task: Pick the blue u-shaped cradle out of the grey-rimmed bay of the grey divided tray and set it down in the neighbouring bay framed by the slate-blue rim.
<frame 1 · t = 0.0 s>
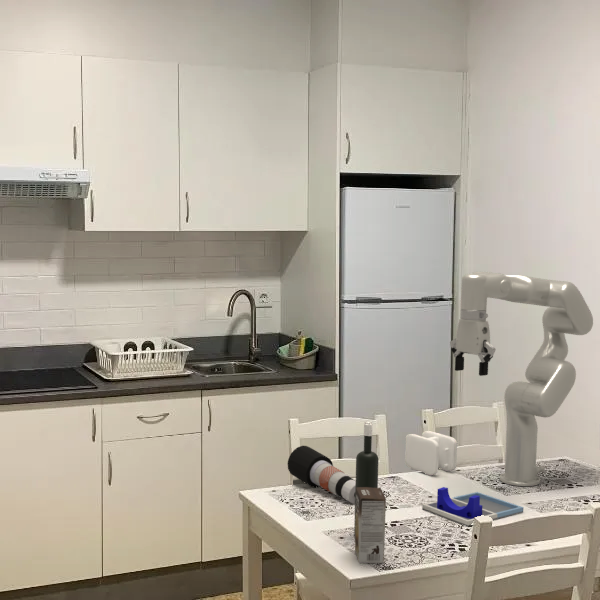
hand: (471, 372, 285), 37 cm above the table, tool pointing down, fingers open, 9 cm apart
grey divided tray: (472, 511, 271), on the table
cable organizer: (429, 470, 314), on the table
coffee box: (368, 557, 234), on the table
blue u-shaped cradle: (459, 513, 268), resting on grey divided tray
wine bottle: (365, 536, 249), on the table
telephoto camera lens: (332, 494, 286), on the table
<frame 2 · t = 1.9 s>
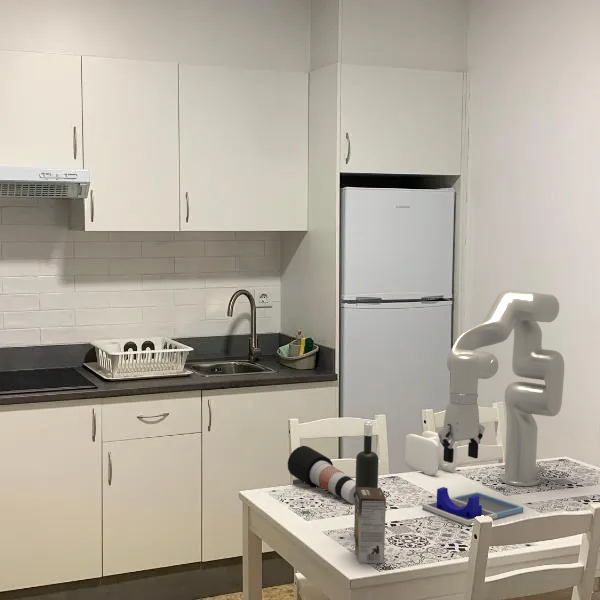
hand: (460, 459, 266), 16 cm above the table, tool pointing down, fingers open, 9 cm apart
nothing on the table moved.
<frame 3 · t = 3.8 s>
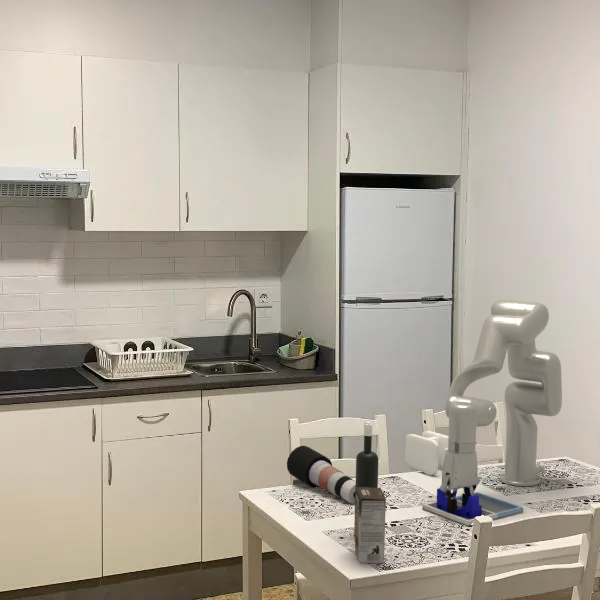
hand: (459, 509, 268), 1 cm above the table, tool pointing down, fingers closed on blue u-shaped cradle, 5 cm apart
blue u-shaped cradle: (458, 513, 268), resting on grey divided tray, touching gripper
everything else where it was.
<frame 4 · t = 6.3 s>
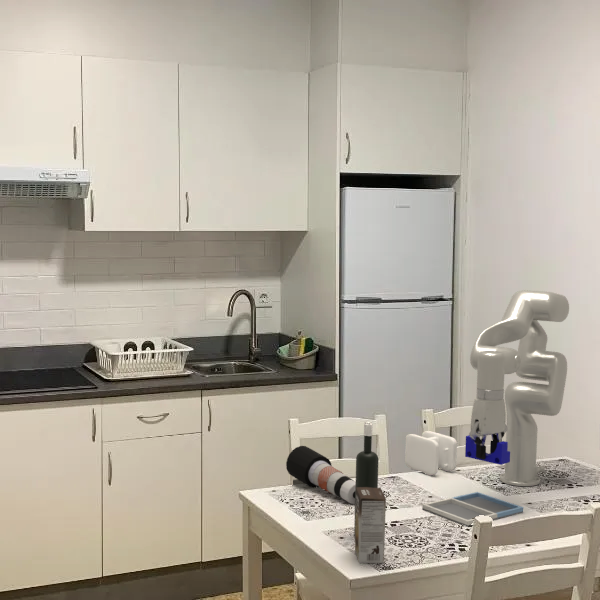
hand: (487, 456, 273), 15 cm above the table, tool pointing down, fingers closed on blue u-shaped cradle, 5 cm apart
blue u-shaped cradle: (487, 459, 274), point 14 cm above the table, touching gripper
everything else where it was.
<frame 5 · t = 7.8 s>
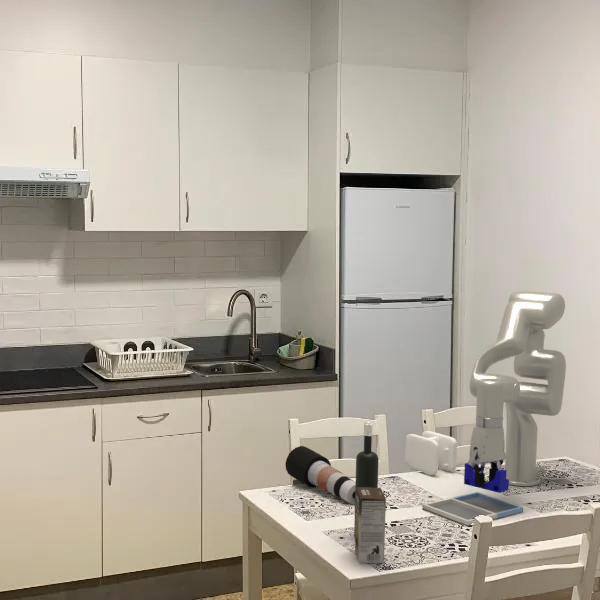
hand: (486, 484, 274), 7 cm above the table, tool pointing down, fingers closed on blue u-shaped cradle, 5 cm apart
blue u-shaped cradle: (485, 487, 274), point 6 cm above the table, touching gripper
everything else where it was.
when the fingers open (3 cm above the table, at t = 9.0 s): blue u-shaped cradle drops 1 cm, point 1 cm above the table.
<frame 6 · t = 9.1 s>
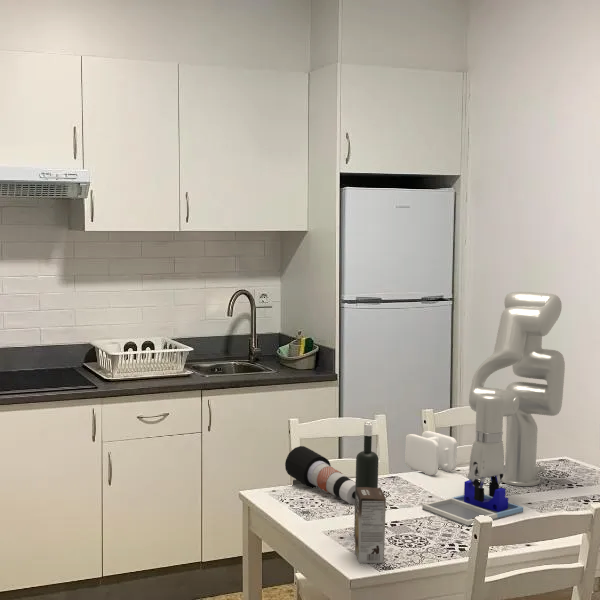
hand: (486, 498, 274), 3 cm above the table, tool pointing down, fingers open, 5 cm apart
blue u-shaped cradle: (485, 505, 275), point 1 cm above the table
everything else where it was.
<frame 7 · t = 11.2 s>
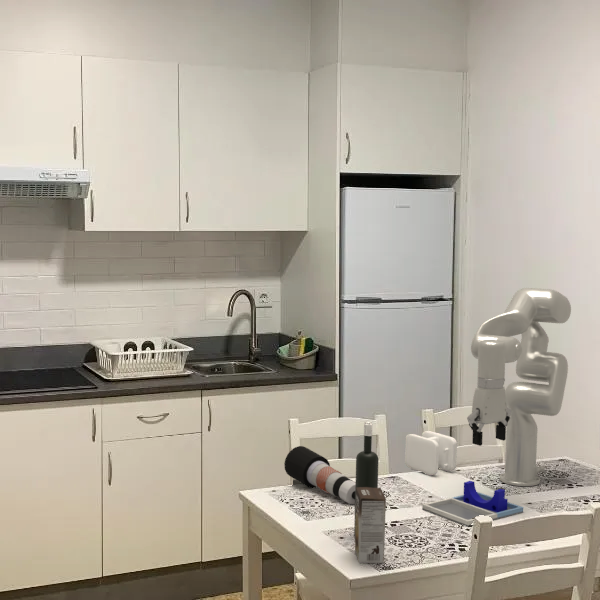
hand: (489, 441, 274), 19 cm above the table, tool pointing down, fingers open, 9 cm apart
blue u-shaped cradle: (484, 506, 275), resting on grey divided tray
everything else where it was.
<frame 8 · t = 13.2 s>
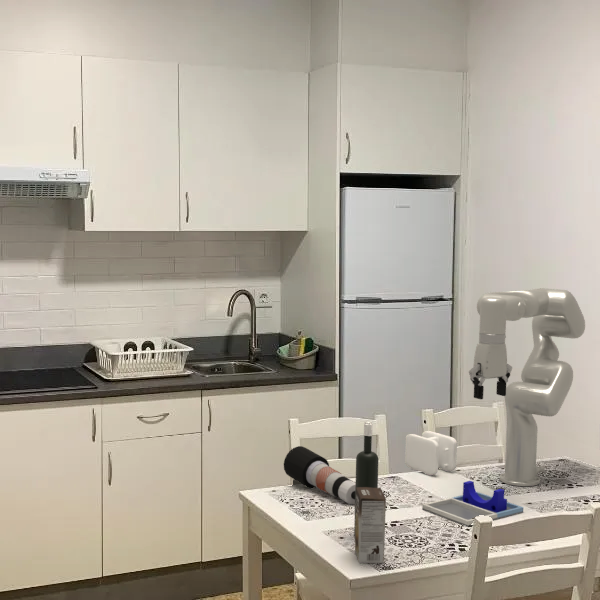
hand: (489, 396, 282), 30 cm above the table, tool pointing down, fingers open, 9 cm apart
at the end: blue u-shaped cradle inside the target area on the grey divided tray (0.5 cm from its centre), point 0.2 cm above the grey divided tray's base; the gripper is holding nothing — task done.
